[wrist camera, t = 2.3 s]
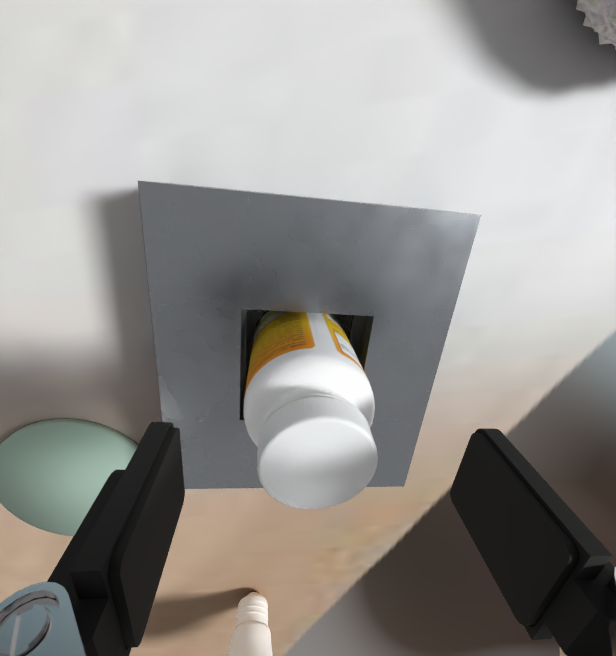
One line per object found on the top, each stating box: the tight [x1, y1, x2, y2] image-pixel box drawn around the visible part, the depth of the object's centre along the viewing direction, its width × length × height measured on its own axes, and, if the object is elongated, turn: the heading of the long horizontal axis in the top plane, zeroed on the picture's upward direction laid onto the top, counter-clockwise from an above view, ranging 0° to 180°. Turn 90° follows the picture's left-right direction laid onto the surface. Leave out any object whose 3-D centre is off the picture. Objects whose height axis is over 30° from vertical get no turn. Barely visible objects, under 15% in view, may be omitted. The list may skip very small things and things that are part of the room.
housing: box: [138, 181, 481, 489], centre depth 18 cm, size 16×14×4 cm
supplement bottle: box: [244, 310, 378, 509], centre depth 15 cm, size 5×5×10 cm
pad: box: [0, 419, 138, 536], centre depth 21 cm, size 10×10×1 cm
